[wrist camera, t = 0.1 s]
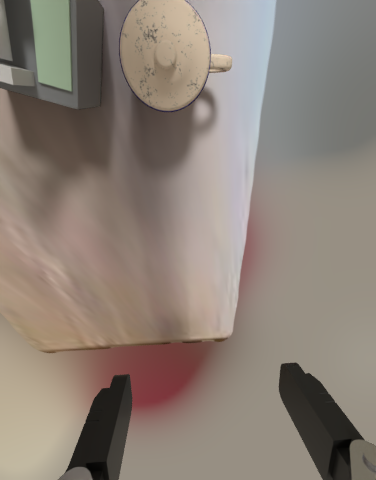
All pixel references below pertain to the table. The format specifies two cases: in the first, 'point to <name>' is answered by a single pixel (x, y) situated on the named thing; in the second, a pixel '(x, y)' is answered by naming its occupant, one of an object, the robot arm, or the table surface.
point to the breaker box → (55, 51)
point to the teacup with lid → (167, 54)
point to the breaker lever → (4, 35)
